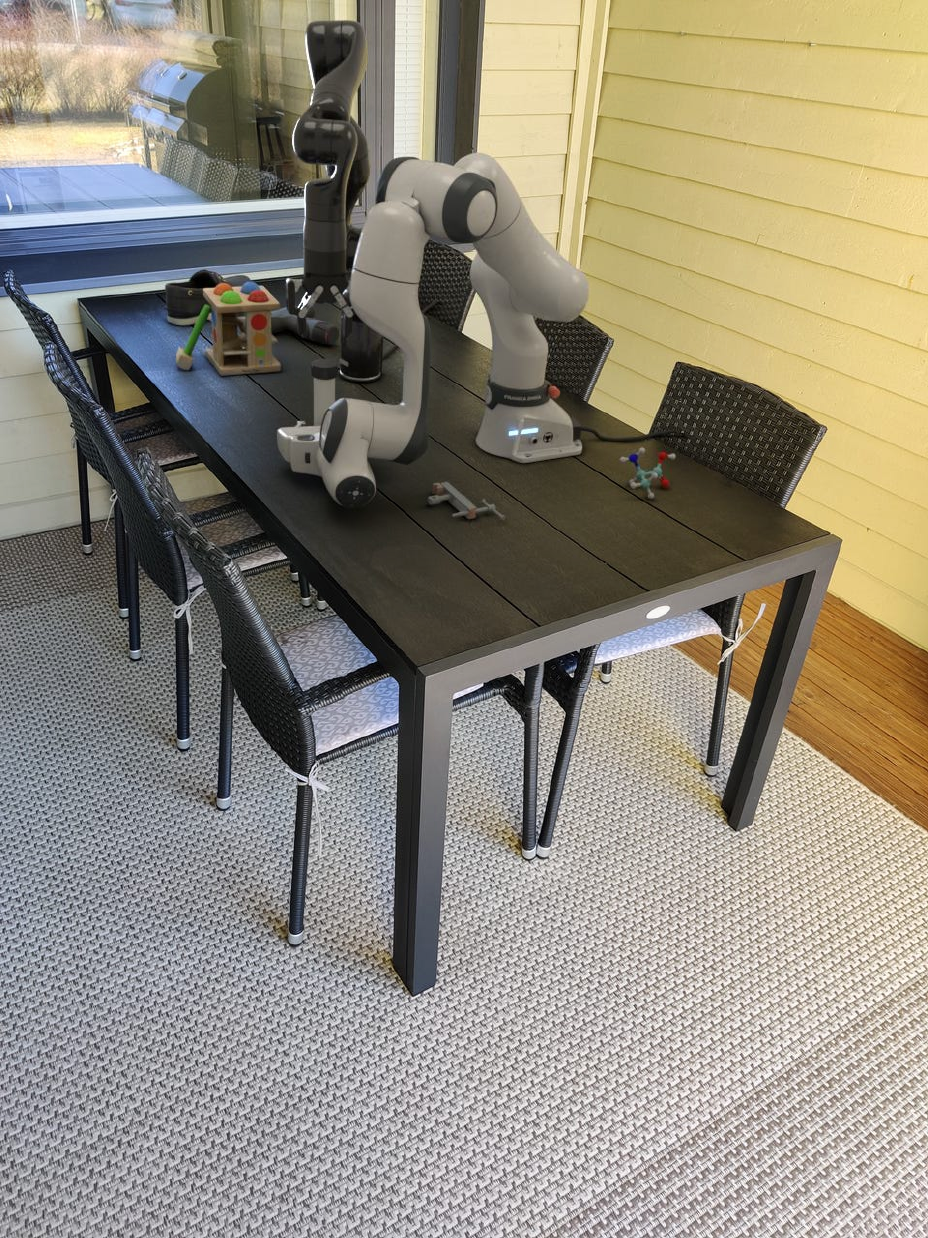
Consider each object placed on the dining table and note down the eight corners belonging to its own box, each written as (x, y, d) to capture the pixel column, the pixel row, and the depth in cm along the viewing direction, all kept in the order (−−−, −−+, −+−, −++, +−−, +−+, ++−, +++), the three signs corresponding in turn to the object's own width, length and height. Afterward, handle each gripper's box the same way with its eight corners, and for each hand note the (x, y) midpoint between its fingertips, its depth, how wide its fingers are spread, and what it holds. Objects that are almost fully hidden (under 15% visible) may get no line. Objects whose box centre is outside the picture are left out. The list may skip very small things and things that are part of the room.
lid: (306, 376, 185) (306, 363, 184) (320, 368, 189) (320, 356, 188) (328, 382, 184) (328, 369, 182) (342, 374, 187) (342, 362, 186)
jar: (310, 454, 195) (309, 365, 184) (321, 447, 198) (321, 360, 187) (327, 459, 193) (327, 370, 183) (338, 452, 196) (339, 364, 186)
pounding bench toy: (183, 379, 220) (176, 299, 210) (169, 357, 231) (162, 280, 221) (282, 371, 230) (280, 294, 220) (264, 350, 240) (262, 276, 230)
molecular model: (677, 492, 186) (662, 441, 184) (629, 506, 189) (614, 457, 188) (684, 485, 196) (670, 436, 195) (639, 499, 200) (624, 451, 198)
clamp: (419, 485, 182) (465, 477, 187) (418, 496, 183) (464, 487, 188) (459, 522, 172) (507, 512, 176) (457, 533, 173) (505, 523, 177)
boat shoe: (273, 303, 272) (271, 265, 267) (185, 327, 248) (181, 285, 243) (238, 295, 278) (236, 257, 272) (149, 317, 254) (144, 276, 249)
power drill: (365, 313, 253) (305, 296, 261) (318, 330, 240) (256, 311, 248) (364, 334, 256) (305, 316, 264) (318, 351, 243) (257, 332, 251)
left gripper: (360, 239, 178) (358, 328, 187) (280, 238, 174) (282, 330, 183) (369, 250, 172) (366, 342, 181) (287, 249, 168) (289, 343, 177)
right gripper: (393, 435, 182) (377, 406, 193) (283, 440, 176) (272, 410, 187) (392, 466, 186) (376, 435, 197) (283, 472, 180) (273, 440, 191)
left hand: (324, 335), depth 182 cm, fingers open, 7 cm apart
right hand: (324, 423), depth 192 cm, fingers open, 8 cm apart
